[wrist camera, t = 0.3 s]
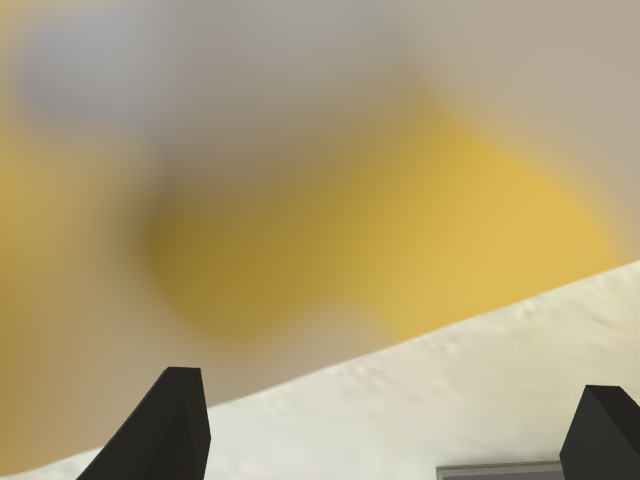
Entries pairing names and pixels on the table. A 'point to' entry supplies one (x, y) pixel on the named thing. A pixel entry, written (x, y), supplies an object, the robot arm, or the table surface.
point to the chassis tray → (503, 471)
